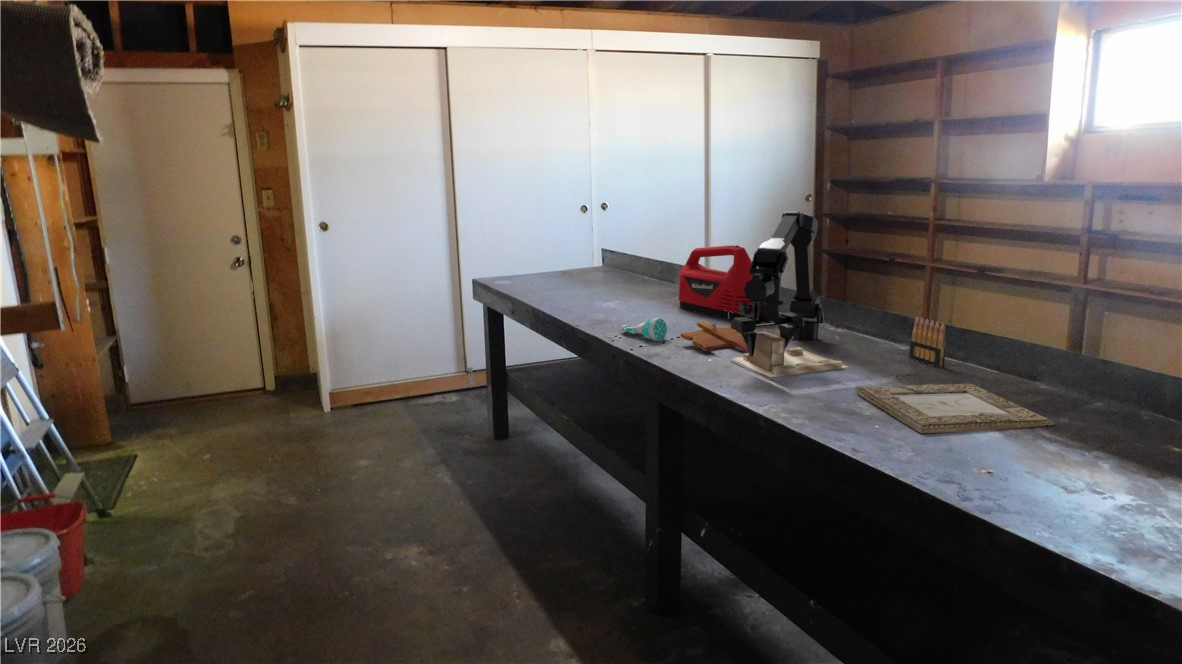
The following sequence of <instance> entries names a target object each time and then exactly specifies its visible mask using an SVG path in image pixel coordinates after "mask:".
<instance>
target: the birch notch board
mask: <svg viewBox="0 0 1182 664" xmlns="http://www.w3.org/2000/svg"><path fill="white" fill-rule="evenodd" d="M749 359H750V355H749V353H747V352H744V353H742V357H734V358H732V357H731V360H729V361H730V363H731V362H732V363H731V364H733V363H734V364H733V365H735V364H736V365H735V366H737V365H738V366H737V367H739V366H740V368H741V367H742V368H741V369H743V368H745V369H744V370H746V369H747V370H746V371H748V370H749V371H748V372H750V371H751V372H750V373H752V372H753V373H752V374H754V373H755V374H754V375H756V374H757V375H756V376H758V375H759V377H760V376H762V377H761V378H763V379H765V380H767V381H769V382H773V381H772V379H770V378H774V377H776V378H777V377H782V376H783V377H784V376H789V375H797V374H798V375H799V374H800V375H801V374H806V373H812V372H813V373H814V372H815V373H816V372H821V371H831V370H838V369H846V368H849V366H848V365H845V364H843V361H841V360H835V359H832V358H830V359H829V358H826V357H824V356H822V355H818V354H816V353H813V352H810V351H808V350H805V349H804V348H802V347H799V346H798V347H790V348H786V352H785V351H784V365H781V366H773V370H771V371H768V370H766V369H763V368H761V367H759V366H757V365H754V364H752V363H750V362H749ZM742 365H743V366H742ZM744 366H745V367H744ZM748 368H749V369H748ZM757 372H758V373H757ZM766 376H767V377H766Z"/></svg>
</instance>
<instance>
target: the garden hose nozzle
mask: <svg viewBox="0 0 1182 664" xmlns="http://www.w3.org/2000/svg"><path fill="white" fill-rule="evenodd" d="M667 329H668V328H667V323H666V321H665V320H664V319H663V318H661V317H655V318H651V319H648V320H647V321H644V322H641V323H639V324H638V325H636V326H635V325H634V326H629V325H627V324H624V325H621V327H620V331H622V332H625V333H628V332H631V333H632V332H633V333H634V334H640V335H642V336H644V337H645V338H646V339H648V340H651V341H654V342H662V341H663V340H664V339H665V338H666V336H667V331H668V330H667Z"/></svg>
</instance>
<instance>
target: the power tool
mask: <svg viewBox="0 0 1182 664" xmlns="http://www.w3.org/2000/svg"><path fill="white" fill-rule="evenodd" d="M723 256H724V257H725V256H733V262H732V263H733V264H732V265H731V266H730V267H729V269H728V270H727V271H725V270H720V269H715V268H708V267H706V266H704V265H703V264H700V263H699V262H700V259H701V258H709V257H723ZM752 261H753V260H751V257H750V256H749V254H748V252H747V250H746V249H745V247H741V246H740V245H732V244H731V245H721V246H708V247H707V246H706V247H695V248H694V249H693V250H692V251H691V252H690V254H689V256H688V258H687V261H686V263H685V264H684V265H683V266H682V267H681V269H680V271H679V280H678V281H679V282H678V300H679V308H680V309H681V308H682V309H681V310H684V309H687V310H686V311H689V310H691V311H690V312H693V311H696V312H695V313H697V312H700V313H699V314H701V313H704V314H703V315H706V314H708V315H707V316H710V315H713V316H712V317H714V316H717V317H716V318H719V317H721V318H720V319H723V318H725V319H724V320H728V319H730V320H729V321H732V320H733V319H734V318H740V317H745V315H740V314H739V313H738V312H739V303H743V302H748V304H749V305H752V304H754V302H752V301H750V300H749V299H748V298H747V297H746V296H745V293H744V287H745V285H746V283H747V282H748V281H750V280H752V275H753V274H749V271H750V268H751V264H752ZM725 310H726V311H725ZM730 311H731V312H730ZM732 312H733V313H732ZM750 319H752V320H757V319H756V318H752V317H751V318H750Z"/></svg>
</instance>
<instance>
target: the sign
mask: <svg viewBox="0 0 1182 664" xmlns="http://www.w3.org/2000/svg"><path fill="white" fill-rule="evenodd" d="M696 326H697V328H700V329H698V330H692V331H687V332H681V333H680V335H679V337H681V338H682V339H683V340H686V341H691V344H692V345H693V346H694V347H698V348H700V349H702V351H704V352H708V351H712V350H716V349H723V348H735V347H736V348H738V349H739V350H741V351H743V352H744V353H748V350H747V346H746V343H745V341H744V338H743V336H742V335H741V334H740V333H739V332H736V330H734V329H732V328H731V325H730V326H722V327H721V326H719V327H717V322H715V323H713V324H712V323H710V322H708V321H706V320H703V321H699V320H698V321H697V322H696Z"/></svg>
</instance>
